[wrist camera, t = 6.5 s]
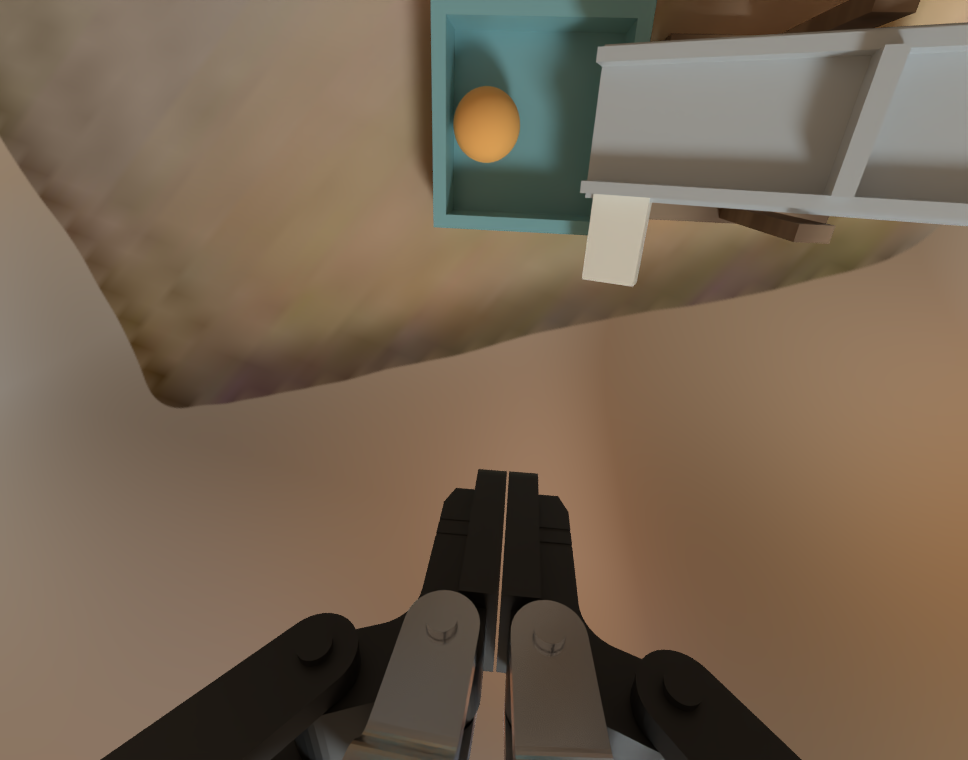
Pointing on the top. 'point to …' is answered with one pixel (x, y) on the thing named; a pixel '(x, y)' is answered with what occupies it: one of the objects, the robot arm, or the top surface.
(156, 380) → the top surface
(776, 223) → the stand
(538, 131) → the teal square tray
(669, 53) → the chute
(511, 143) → the ball
